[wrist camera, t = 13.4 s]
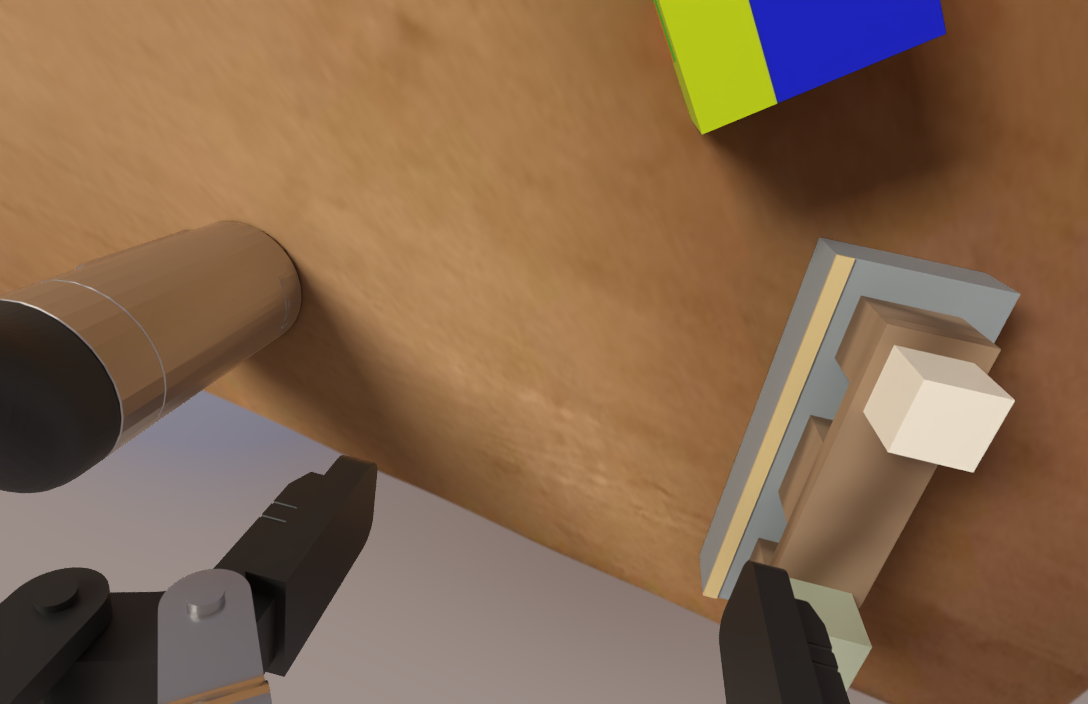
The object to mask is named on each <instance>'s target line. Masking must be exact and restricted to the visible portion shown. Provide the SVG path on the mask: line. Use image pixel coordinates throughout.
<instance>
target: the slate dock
mask: <svg viewBox="0 0 1088 704" xmlns="http://www.w3.org/2000/svg"><path fill="white" fill-rule="evenodd" d="M860 296H866V297H870V298H875V299H879V300H884V301H888V302H893V303H897V304H902V305H906V306H911V307H915V308H920V309H924V310H929V311H933V312H938V313H942V314H947V315H951V316H956V317H960V318H962V319H964V320H965V321H966V322H968V323H969V324H970V325H971V326H973V327H974V328H975V329H976V330H978V331H979V332H980V333H981V334H983V335H984V336H985V337H986V338H988V339H989V340H990V341H991V342H993V343H995V341H996V339H997V337H998V335H999V333H1000V331H1001V330H1002V328H1003V326H1004V324H1005V322H1006V320H1007V318H1008V317H1009V315H1010V313H1011V311H1012V309H1013V307H1014V305H1015V304H1016V302H1017V300H1018V298H1019V296H1020V293H1018V292H1016V291H1015V290H1013V289H1011V288H1010V287H1008V286H1006V285H1005V284H1003V283H1001V282H1000V281H998V280H996V279H995V278H993V277H992V276H990V275H988V274H987V273H983V272H978V271H974V270H969V269H964V268H960V267H955V266H951V265H946V264H941V263H937V262H932V261H927V260H923V259H918V258H913V257H909V256H904V255H900V254H895V253H890V252H886V251H881V250H876V249H872V248H867V247H862V246H858V245H853V244H849V243H844V242H839V241H835V240H830V239H825V238H821V237H819V240H818V242H817V245H816V248H815V250H814V253H813V255H812V258H811V261H810V263H809V266H808V269H807V271H806V274H805V277H804V279H803V282H802V285H801V287H800V290H799V293H798V295H797V298H796V301H795V303H794V306H793V309H792V311H791V314H790V317H789V319H788V322H787V325H786V327H785V330H784V332H783V335H782V338H781V340H780V343H779V346H778V348H777V351H776V354H775V356H774V359H773V362H772V364H771V367H770V370H769V372H768V375H767V378H766V380H765V383H764V386H763V388H762V391H761V394H760V396H759V399H758V401H757V404H756V407H755V409H754V412H753V415H752V417H751V420H750V423H749V425H748V428H747V431H746V433H745V436H744V439H743V441H742V444H741V447H740V449H739V452H738V455H737V457H736V460H735V463H734V465H733V468H732V470H731V473H730V476H729V478H728V481H727V484H726V486H725V489H724V492H723V494H722V497H721V500H720V502H719V505H718V508H717V510H716V513H715V516H714V518H713V521H712V524H711V526H710V529H709V532H708V534H707V537H706V539H705V542H704V545H703V547H702V550H701V553H700V555H699V556H700V567H701V578H702V589H703V595H704V596H708V597H712V598H715V599H717V597H719V598H723V599H727V600H729V598H730V596H731V593H732V591H733V589H734V586H735V584H736V582H737V579H738V577H739V575H740V572H741V570H742V568H743V566H744V564H745V563H746V561H748V560H749V559H750V556H751V554H752V552H753V549H754V547H755V545H756V542H757V540H758V538H762V539H766V540H770V541H774V542H777V543H779V541H780V539H781V537H782V535H783V532H784V530H785V528H786V526H787V521H786V518H785V514H784V511H783V507H782V504H781V500H780V497H779V493H778V490H779V488H780V486H781V483H782V481H783V478H784V476H785V474H786V471H787V469H788V467H789V464H790V462H791V460H792V457H793V455H794V452H795V450H796V448H797V445H798V443H799V441H800V438H801V436H802V433H803V431H804V429H805V426H806V424H807V422H808V419H809V417H810V415H813V416H818V417H822V418H826V419H830V420H833V419H834V417H835V415H836V413H837V410H838V408H839V406H840V404H841V401H842V399H843V397H844V395H845V392H846V390H847V388H848V386H849V383H850V382H849V380H848V379H847V377H846V375H845V374H844V372H843V371H842V369H841V367H840V366H839V364H838V363H837V361H836V359H835V355H836V353H837V351H838V348H839V346H840V344H841V341H842V339H843V337H844V334H845V332H846V329H847V327H848V325H849V322H850V320H851V318H852V315H853V313H854V311H855V308H856V306H857V303H858V301H859V299H860Z"/></svg>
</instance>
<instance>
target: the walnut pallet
mask: <svg viewBox="0 0 1088 704" xmlns="http://www.w3.org/2000/svg"><path fill="white" fill-rule="evenodd" d="M894 345H896V346H901V347H905V348H909V349H914V350H918V351H923V352H927V353H932V354H936V355H940V356H945V357H949V358H954V359H958V360H962V361H967V362H971V363H975V364H976V365H977V366H978V367H979V368H980V369H981V370H982V371H983V372H985V373H986V374H987V375H988V373H989V371H990V369H991V367H992V365H993V364H994V362H995V360H996V358H997V356H998V354H999V353H1000V351H1001V349H1000V348H999V347H998V346H996V345H995V344H994V343H993V342H991V341H990V340H989V339H988V338H986V337H985V336H984V335H983V334H981V333H980V332H979V331H978V330H976V329H975V328H974V327H973V326H971V325H970V324H969V323H968V322H966V321H965V320H964V319H962V318H960V317H956V316H951V315H947V314H942V313H938V312H933V311H929V310H924V309H920V308H915V307H911V306H906V305H902V304H897V303H893V302H888V301H884V300H879V299H875V298H870V297H866V296H860V299H859V301H858V303H857V306H856V308H855V311H854V313H853V315H852V318H851V320H850V322H849V325H848V327H847V329H846V332H845V334H844V337H843V339H842V341H841V344H840V346H839V348H838V351H837V353H836V355H835V359H836V361H837V363H838V364H839V366H840V367H841V369H842V371H843V372H844V374H845V375H846V377H847V379H848V380H849V382H850V383H849V386H848V388H847V390H846V392H845V395H844V397H843V399H842V401H841V404H840V406H839V408H838V410H837V413H836V415H835V417H834V419H833V420H830V419H826V418H822V417H818V416H813V415H810V417H809V419H808V422H807V424H806V426H805V429H804V431H803V433H802V436H801V438H800V441H799V443H798V445H797V448H796V450H795V452H794V455H793V457H792V460H791V462H790V464H789V467H788V469H787V471H786V474H785V476H784V478H783V481H782V483H781V486H780V488H779V490H778V493H779V497H780V500H781V504H782V507H783V511H784V514H785V518H786V521H787V526H786V528H785V530H784V532H783V535H782V537H781V539H780V541H779V543H777V542H774V541H770V540H766V539H762V538H758V540H757V542H756V545H755V547H754V549H753V552H752V554H751V556H750V559H749V560H751V561H755V562H759V563H762V564H766V565H770V566H774V567H778V568H782V569H785V570H786V571H787V573H788V575H789V578H793V579H797V580H800V581H804V582H808V583H812V584H816V585H820V586H824V587H828V588H832V589H836V590H840V591H843V592H847V593H851V594H852V595H853V598H854V601H855V603H856V606H857V609H858V611H859V609H860V607H861V605H862V603H863V601H864V600H865V598H866V596H867V594H868V592H869V590H870V589H871V587H872V585H873V583H874V581H875V579H876V578H877V576H878V574H879V572H880V570H881V568H882V567H883V565H884V563H885V561H886V559H887V558H888V556H889V554H890V552H891V550H892V548H893V547H894V545H895V543H896V541H897V539H898V537H899V536H900V534H901V532H902V530H903V528H904V526H905V525H906V523H907V521H908V519H909V517H910V515H911V514H912V512H913V510H914V508H915V506H916V504H917V503H918V501H919V499H920V497H921V495H922V493H923V492H924V490H925V488H926V486H927V484H928V482H929V481H930V479H931V477H932V475H933V473H934V472H935V470H936V468H937V466H938V464H935V463H931V462H927V461H922V460H918V459H914V458H910V457H906V456H901V455H897V454H893V453H889V452H887V450H886V448H885V447H884V445H883V443H882V442H881V440H880V439H879V437H878V435H877V434H876V432H875V430H874V429H873V427H872V426H871V424H870V422H869V421H868V419H867V417H866V416H865V414H864V412H863V411H864V409H865V407H866V404H867V402H868V400H869V398H870V396H871V394H872V391H873V389H874V387H875V385H876V383H877V381H878V378H879V376H880V374H881V372H882V370H883V368H884V366H885V363H886V361H887V359H888V357H889V355H890V353H891V350H892V348H893V346H894Z"/></svg>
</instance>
